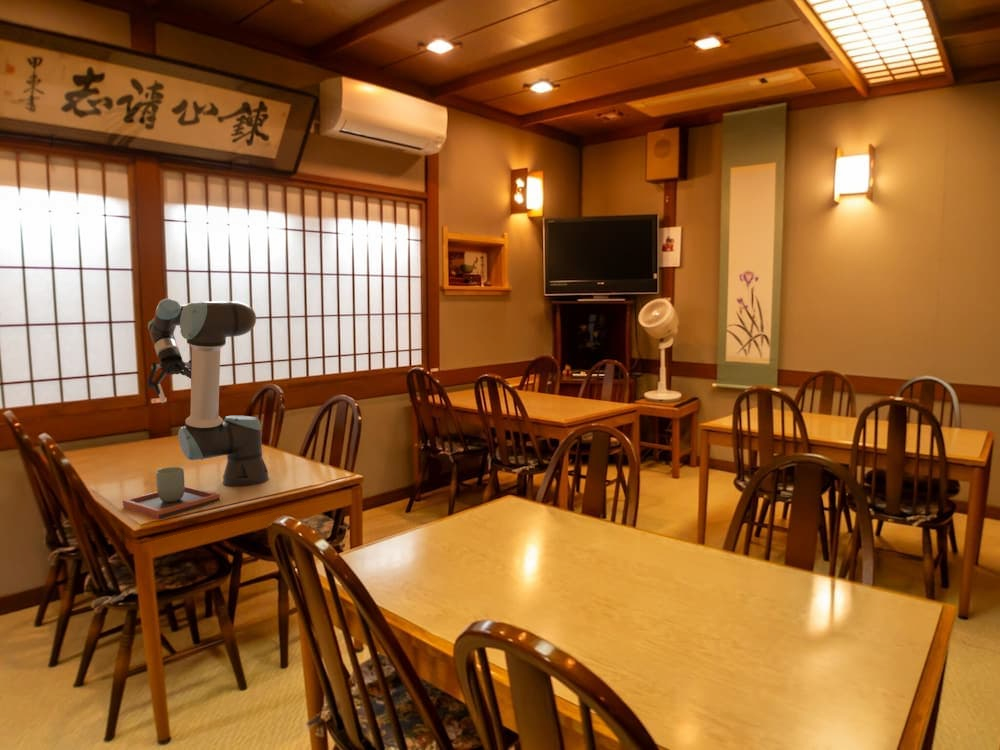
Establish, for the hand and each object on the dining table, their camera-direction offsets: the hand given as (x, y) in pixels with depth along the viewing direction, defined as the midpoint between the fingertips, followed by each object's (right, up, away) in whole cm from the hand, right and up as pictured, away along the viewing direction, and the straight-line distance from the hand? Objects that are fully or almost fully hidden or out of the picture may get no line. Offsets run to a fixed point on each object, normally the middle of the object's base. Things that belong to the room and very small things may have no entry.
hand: (184, 398), depth 234 cm
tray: (+8, -33, -24) cm, 42 cm away
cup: (+8, -32, -24) cm, 41 cm away
